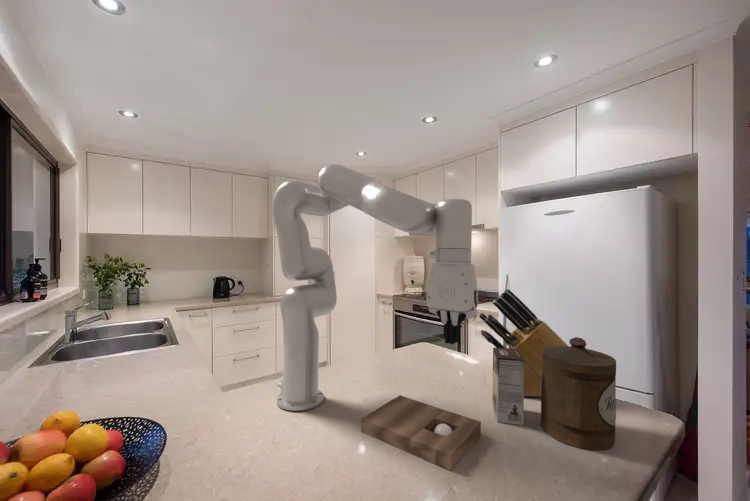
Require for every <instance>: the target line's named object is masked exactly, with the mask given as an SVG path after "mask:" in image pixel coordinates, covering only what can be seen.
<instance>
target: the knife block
mask: <svg viewBox="0 0 750 501" xmlns="http://www.w3.org/2000/svg"><path fill="white" fill-rule="evenodd" d="M492 304H493V305H494V306H495V307H496V308H497V309H498V310H499V312H500V313H501V314H502V315H503V316H504V317H505V318H506V319H508V321H510V322H511V324H513V326H515V327H516V328H515V329H514V330H513V331H512V332H510V331H509V330H508V328H506V327H505V326H504V325H503V324H502V323H501V322H500V321H499V320H498V319H497V318H496V317H495V316H493V315H492V314H488V315H485V314H484V313H483V312H481V313H479V315H478V317H479V318H480V319H481V320H482V321H483V322H484V323H485V324H486V325H487V327H489V328H490V329H491V330H492V331H493V332H494V333H495V334H496V335H497V336H499V337H500V338H501V339H502V340H503V342H504V343H505V344H506V346H507V347H508V348H509V349H518V351H519V352H520V354H521V355H522V357H523V358H524V397H540V398H541V389H542V370H543V350H544V348H546V347H551V346H569V345H568V344H567V343H566V342H565V341H564V340H563V339H562V338H561V337H560V336H559V335H558V334H557V333H556V332H555V331H554V330H553V329H552V328H551V327H550V326H549V325H548V324H547V323H546V322H545V321H542V320H541V319H539V318H538V317H537V316H536V314H535V313H534V312H533V311H532V310H531V309H530V308H529V307H528V306H527V305H526V304H525V303H524V302H523V301H522V300H521V299H520V298H519V297H518V296H517V295H515V293H513V291H511V290H510V289H509V288H506V289H505V290H504V291H503V292H502V293H501V294H500V295H498V297H497V298H494V299H493V301H492ZM480 334H481V336H482V337H483V338H484V339H485V340H486V341H487V342H488V343H490V344H492V346H494V348H506V347H505V346H504V345H503V344H502V343H501V342H500V341H499V340H498V339H496V338H495V337H494V335H492V334H491V333H490V332H488V331H486V330H483V329H481V330H480Z"/></svg>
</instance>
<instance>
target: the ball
mask: <svg viewBox="0 0 750 501" xmlns="http://www.w3.org/2000/svg"><path fill="white" fill-rule="evenodd" d="M434 433H437V434H439V435H442V436H445V437H448V436H449V435H450V434H451V433H452V429H451V428H450V427H449V426H448V425H447V424H439V425H437V426H436V428H435V430H434Z"/></svg>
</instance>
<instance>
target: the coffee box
mask: <svg viewBox="0 0 750 501" xmlns="http://www.w3.org/2000/svg"><path fill="white" fill-rule="evenodd" d="M524 398H525V396H524V358H523V357H522V355H521V354H520V352H519V351H518V349H509V347H507V348H506V347H505V348H496V347H492V409H493V411H494V412H493V413H494V416H495V419H496V422H497V423H500V424H501V423H502V424H512V425H519V426H520V425H521V426H524V407H525V406H524V404H525V403H524V402H525V401H524Z"/></svg>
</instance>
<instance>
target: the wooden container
mask: <svg viewBox="0 0 750 501" xmlns="http://www.w3.org/2000/svg"><path fill="white" fill-rule="evenodd" d="M569 345H570V346H569ZM569 345H568V346H551V347H546V348H544V350H543V370H542V389H541V397H540V426H541V429H542V430H544V432H545V433H546V434H547V435H548V436H550V437H552V438H554V440H557V441H559V442H561V443H563V444H565V445H569V446H571V447H575V448H579V449H582V450H589V451H605V450H608V449H611V448H613V447H614V446H615V443H616V425H617V424H616V418H617V413H616V412H617V408H616V407H617V404H616V402H617V400H616V396H617V395H616V394H617V393H616V390H617V389H616V387H617V386H616V382H617V381H616V379H617V378H616V375H617V360H616V359H615V358H614V357H613V356H610V355H608V354H606V353H605V352H601V351H597V350H594V349H588V348H586V347H587V342H586V340H585V339H583V338H582V337H578V336H576V337H575V336H574V337H573V338H572V337H571V338H570V339H569Z"/></svg>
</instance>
